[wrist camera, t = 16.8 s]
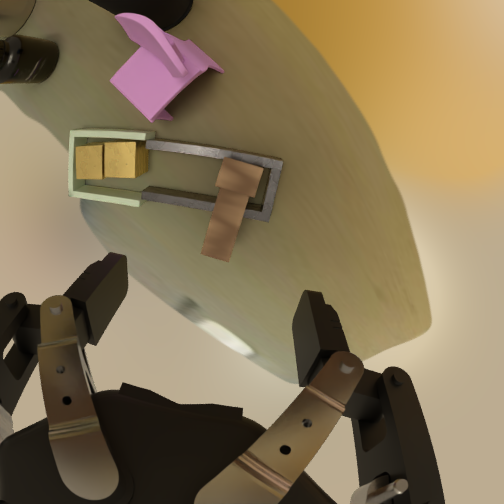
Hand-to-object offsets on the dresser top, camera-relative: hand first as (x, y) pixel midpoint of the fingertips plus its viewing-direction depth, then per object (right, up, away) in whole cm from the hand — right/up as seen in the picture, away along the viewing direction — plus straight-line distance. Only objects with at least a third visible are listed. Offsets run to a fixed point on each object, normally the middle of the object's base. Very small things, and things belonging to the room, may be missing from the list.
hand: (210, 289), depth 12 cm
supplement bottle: (-28, +29, +10) cm, 42 cm away
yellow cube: (-17, +14, +18) cm, 28 cm away
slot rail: (-3, +11, +19) cm, 22 cm away
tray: (-16, +13, +18) cm, 27 cm away
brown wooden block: (+1, +11, +16) cm, 19 cm away
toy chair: (-7, +21, +14) cm, 26 cm away
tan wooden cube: (-13, +14, +18) cm, 26 cm away
